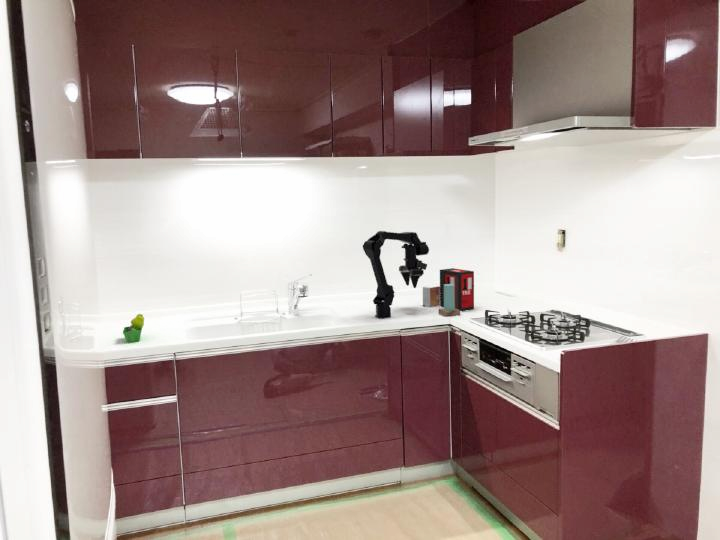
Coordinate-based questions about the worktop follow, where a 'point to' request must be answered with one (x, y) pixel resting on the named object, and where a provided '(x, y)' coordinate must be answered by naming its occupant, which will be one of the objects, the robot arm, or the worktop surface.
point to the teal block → (449, 297)
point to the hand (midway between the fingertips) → (411, 286)
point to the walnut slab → (449, 312)
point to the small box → (431, 295)
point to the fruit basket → (134, 329)
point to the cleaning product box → (458, 287)
